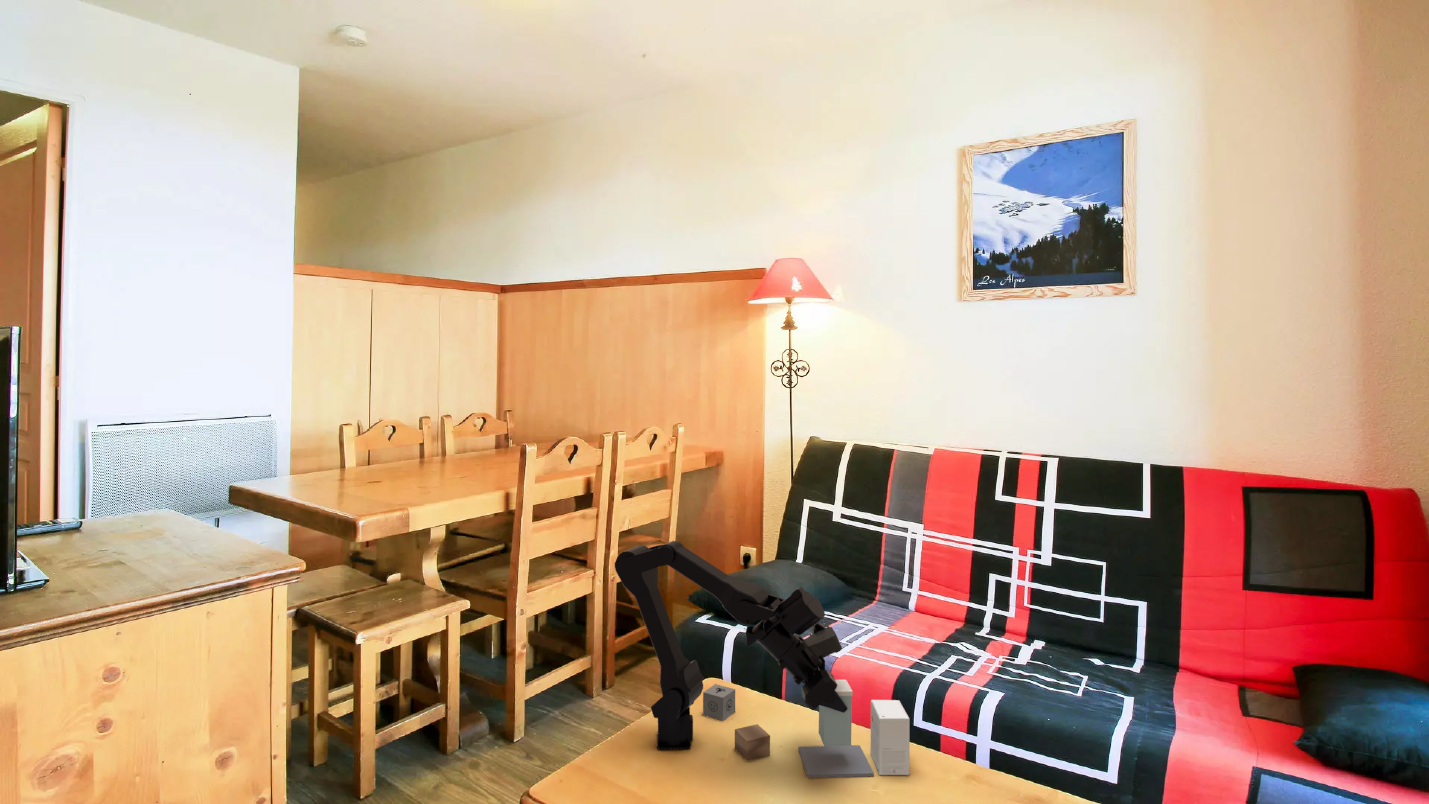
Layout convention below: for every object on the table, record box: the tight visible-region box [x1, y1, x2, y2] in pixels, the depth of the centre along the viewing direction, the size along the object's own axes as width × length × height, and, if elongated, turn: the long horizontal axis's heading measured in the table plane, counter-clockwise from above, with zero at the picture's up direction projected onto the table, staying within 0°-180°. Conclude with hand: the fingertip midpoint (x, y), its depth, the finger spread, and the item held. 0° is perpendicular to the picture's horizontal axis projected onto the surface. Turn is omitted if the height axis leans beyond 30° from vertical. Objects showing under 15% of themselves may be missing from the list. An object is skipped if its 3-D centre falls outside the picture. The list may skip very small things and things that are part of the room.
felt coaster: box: [797, 744, 875, 779], centre depth 134 cm, size 12×10×1 cm
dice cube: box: [702, 683, 736, 722], centre depth 154 cm, size 5×5×5 cm
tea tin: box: [818, 679, 854, 746], centre depth 134 cm, size 5×5×10 cm
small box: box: [870, 699, 911, 776], centre depth 134 cm, size 8×6×10 cm
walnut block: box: [734, 723, 771, 762], centre depth 138 cm, size 5×5×4 cm
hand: (842, 704), depth 134 cm, fingers closed on tea tin, 5 cm apart
